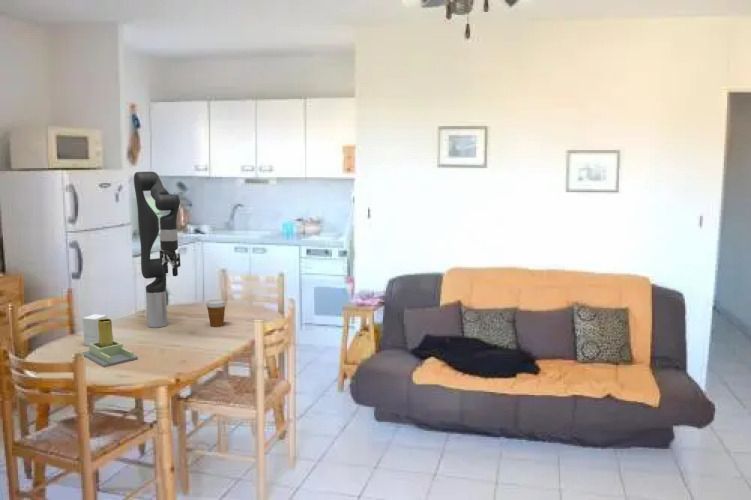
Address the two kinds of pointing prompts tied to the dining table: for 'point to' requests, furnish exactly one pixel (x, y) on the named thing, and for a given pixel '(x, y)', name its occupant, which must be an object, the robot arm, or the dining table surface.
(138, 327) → the dining table surface
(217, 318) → the disposable coffee cup
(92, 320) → the supplement box
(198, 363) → the dining table surface
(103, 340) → the vase
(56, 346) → the dining table surface
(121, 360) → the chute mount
